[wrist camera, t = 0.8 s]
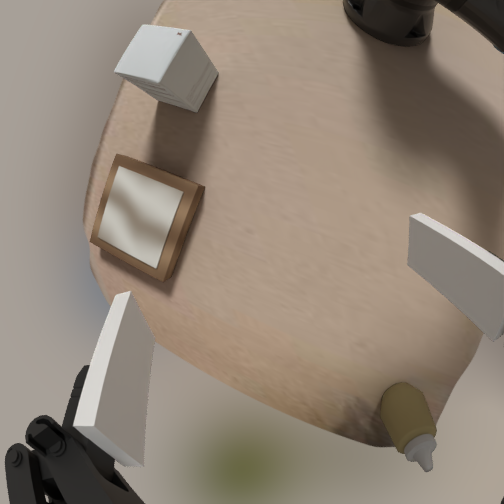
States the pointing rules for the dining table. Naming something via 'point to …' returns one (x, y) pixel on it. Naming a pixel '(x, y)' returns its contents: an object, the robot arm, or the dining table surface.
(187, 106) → the supplement box
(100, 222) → the picture frame
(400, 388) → the squeeze bottle
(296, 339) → the dining table surface
